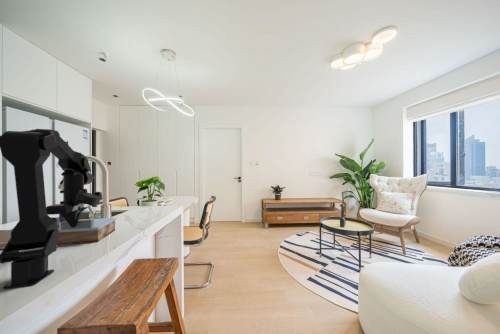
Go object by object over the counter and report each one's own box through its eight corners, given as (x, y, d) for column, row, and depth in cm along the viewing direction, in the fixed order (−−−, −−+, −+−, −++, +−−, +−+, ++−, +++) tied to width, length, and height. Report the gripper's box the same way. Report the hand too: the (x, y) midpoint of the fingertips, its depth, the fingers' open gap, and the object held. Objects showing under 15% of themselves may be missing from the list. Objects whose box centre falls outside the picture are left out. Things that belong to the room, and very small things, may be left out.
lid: (98, 229, 73) (98, 219, 73) (53, 232, 70) (53, 222, 70) (116, 219, 88) (116, 211, 88) (79, 221, 85) (79, 213, 85)
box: (97, 241, 74) (97, 229, 74) (56, 245, 71) (56, 232, 71) (115, 230, 88) (115, 220, 88) (80, 232, 84) (80, 222, 84)
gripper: (82, 189, 63) (82, 234, 63) (110, 184, 81) (110, 219, 81) (42, 190, 61) (42, 236, 61) (80, 184, 79) (80, 220, 79)
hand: (73, 227), depth 70 cm, fingers closed
